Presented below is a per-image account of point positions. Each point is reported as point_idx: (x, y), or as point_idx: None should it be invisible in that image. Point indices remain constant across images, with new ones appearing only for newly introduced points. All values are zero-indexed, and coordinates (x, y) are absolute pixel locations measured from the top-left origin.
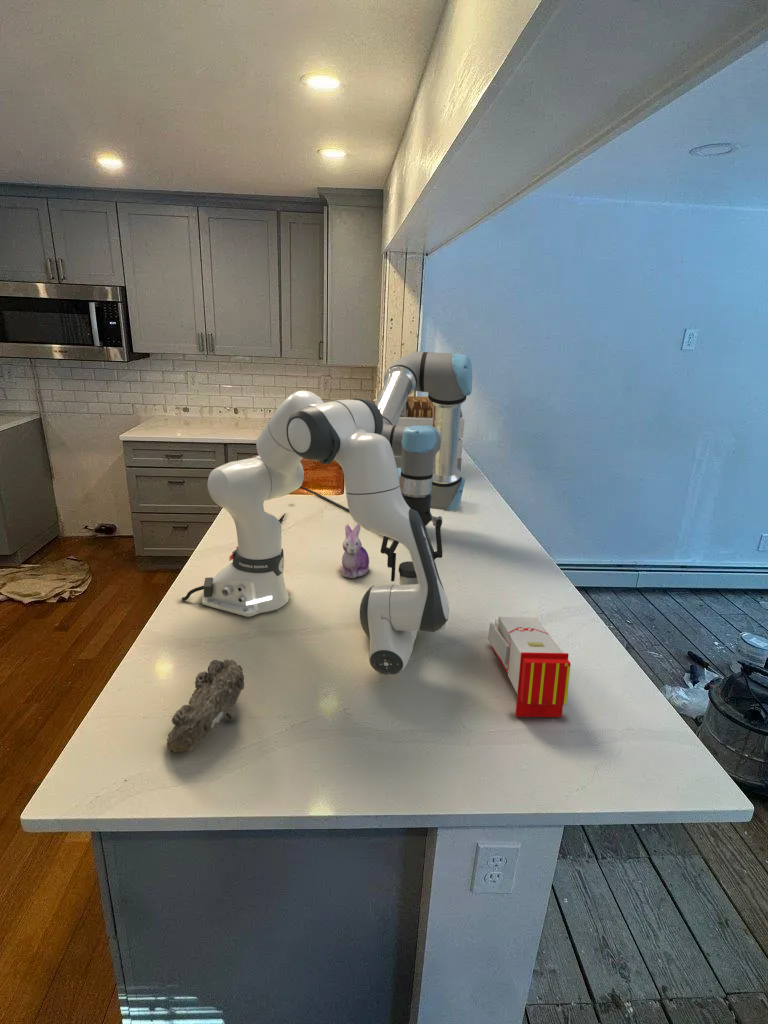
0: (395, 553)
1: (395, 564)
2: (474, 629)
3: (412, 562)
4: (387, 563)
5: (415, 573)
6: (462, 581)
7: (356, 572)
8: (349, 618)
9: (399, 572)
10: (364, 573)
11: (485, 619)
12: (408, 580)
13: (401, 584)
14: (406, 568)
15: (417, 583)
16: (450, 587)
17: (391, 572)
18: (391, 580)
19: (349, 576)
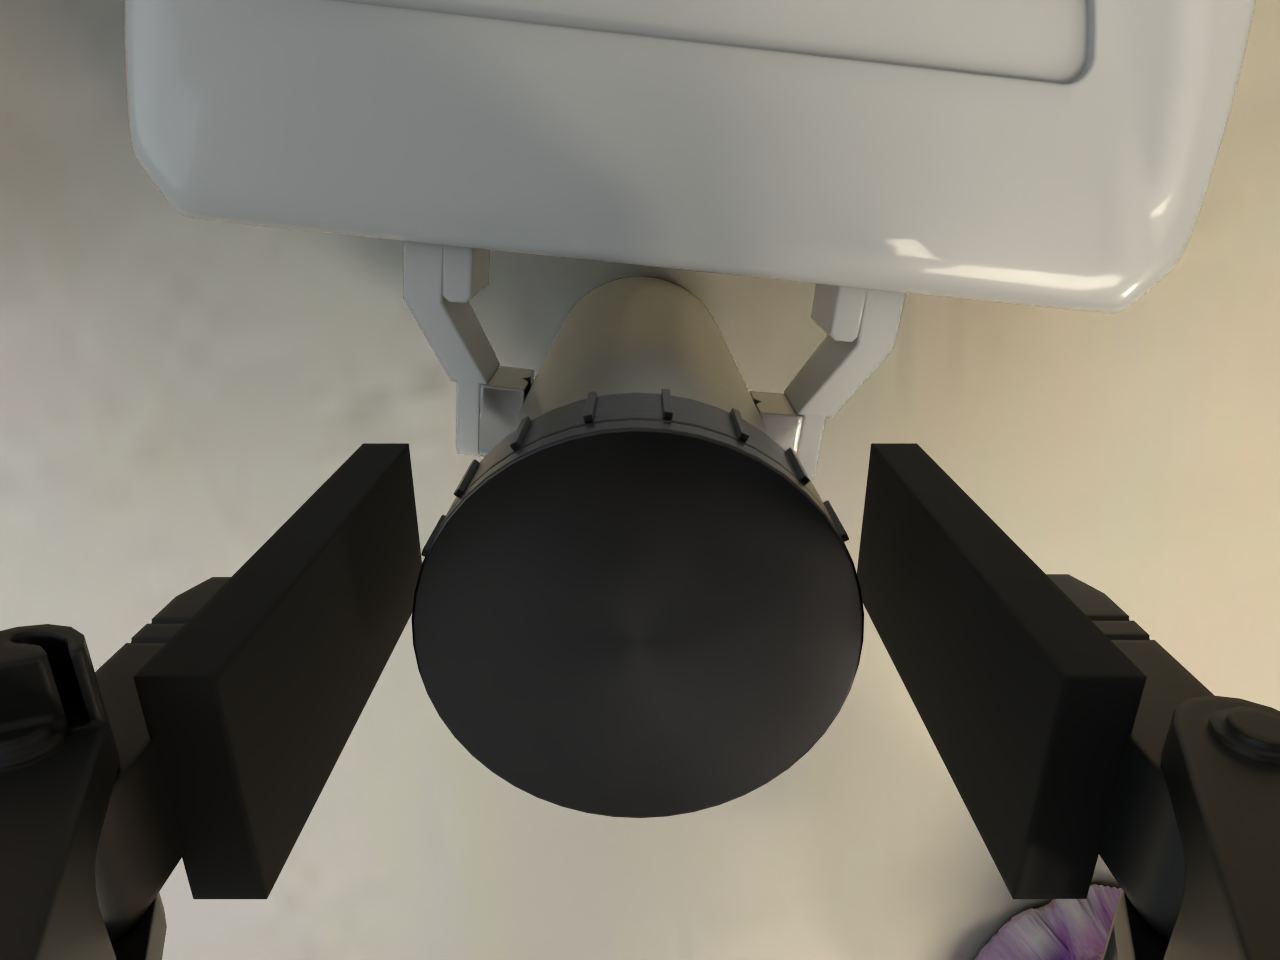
0: (1033, 875)
1: (925, 687)
2: (67, 319)
3: (616, 786)
4: (1127, 618)
5: (529, 436)
6: (285, 955)
7: (1064, 935)
8: (1134, 314)
9: (831, 506)
10: (990, 945)
11: (15, 489)
12: (656, 391)
13: (753, 414)
14: (718, 538)
15: (517, 427)
16: (356, 873)
17: (971, 500)
18: (914, 447)
19: (1106, 893)
